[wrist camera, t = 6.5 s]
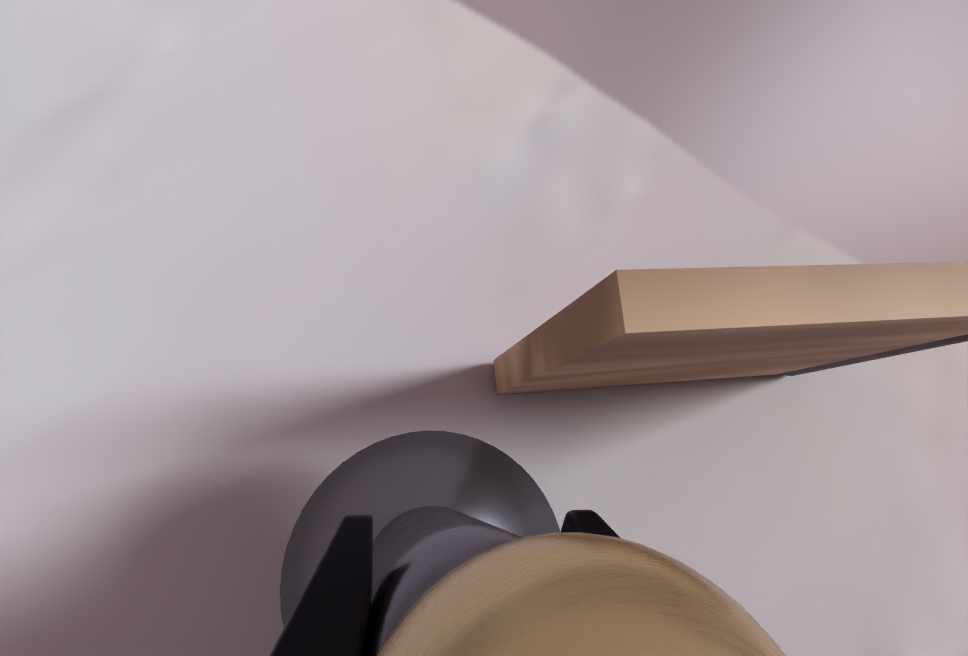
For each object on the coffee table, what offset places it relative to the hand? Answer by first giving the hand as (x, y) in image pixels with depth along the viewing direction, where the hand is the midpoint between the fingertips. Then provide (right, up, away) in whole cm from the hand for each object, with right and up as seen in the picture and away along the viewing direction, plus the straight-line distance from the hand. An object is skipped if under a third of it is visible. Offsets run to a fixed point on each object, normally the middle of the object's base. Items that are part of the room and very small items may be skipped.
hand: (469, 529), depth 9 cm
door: (+7, +2, +13) cm, 14 cm away
